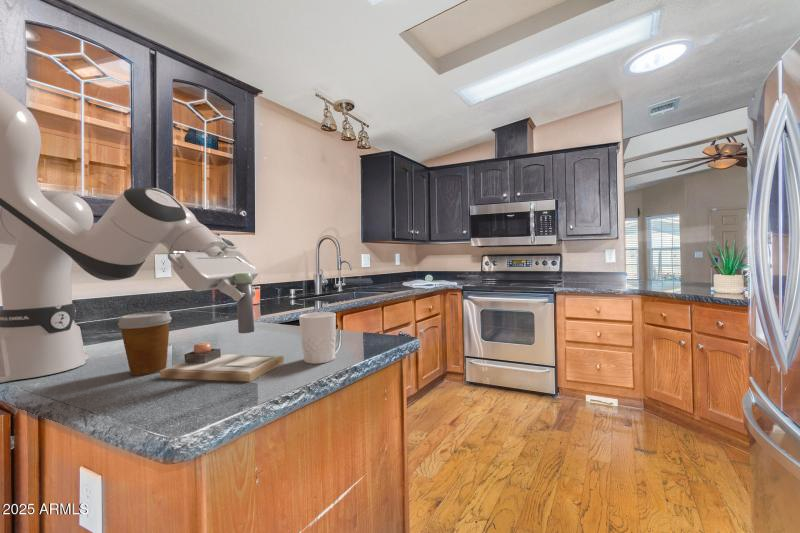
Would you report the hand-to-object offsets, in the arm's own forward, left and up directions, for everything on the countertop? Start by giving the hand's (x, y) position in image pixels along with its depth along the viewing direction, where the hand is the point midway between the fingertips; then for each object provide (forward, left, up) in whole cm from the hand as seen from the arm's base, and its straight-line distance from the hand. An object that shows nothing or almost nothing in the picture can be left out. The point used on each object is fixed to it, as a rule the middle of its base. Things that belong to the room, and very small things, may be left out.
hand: (247, 297), depth 76 cm
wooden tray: (-6, -1, -15) cm, 16 cm away
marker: (-1, 0, -7) cm, 7 cm away
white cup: (+11, +8, -15) cm, 21 cm away
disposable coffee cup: (-23, -3, -15) cm, 27 cm away
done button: (-12, 0, -12) cm, 17 cm away
